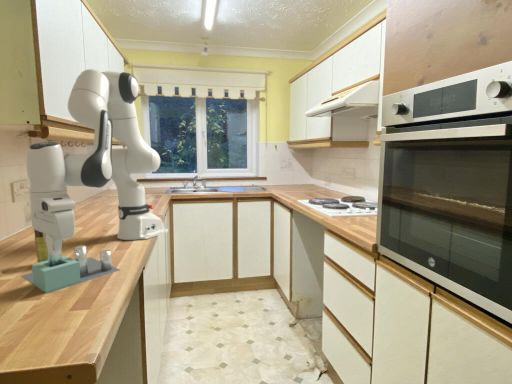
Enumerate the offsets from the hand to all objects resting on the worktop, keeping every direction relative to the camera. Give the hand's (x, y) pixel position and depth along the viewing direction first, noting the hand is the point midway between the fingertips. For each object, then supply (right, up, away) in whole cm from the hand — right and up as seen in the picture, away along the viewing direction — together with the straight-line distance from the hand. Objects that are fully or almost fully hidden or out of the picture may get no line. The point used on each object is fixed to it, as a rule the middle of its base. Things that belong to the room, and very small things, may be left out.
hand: (54, 249), depth 91 cm
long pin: (0, -7, +1) cm, 7 cm away
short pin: (+9, -9, +12) cm, 17 cm away
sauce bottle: (-13, -9, +18) cm, 23 cm away
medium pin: (+4, -9, +7) cm, 12 cm away
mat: (0, -10, +9) cm, 13 cm away
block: (0, -10, +1) cm, 10 cm away
